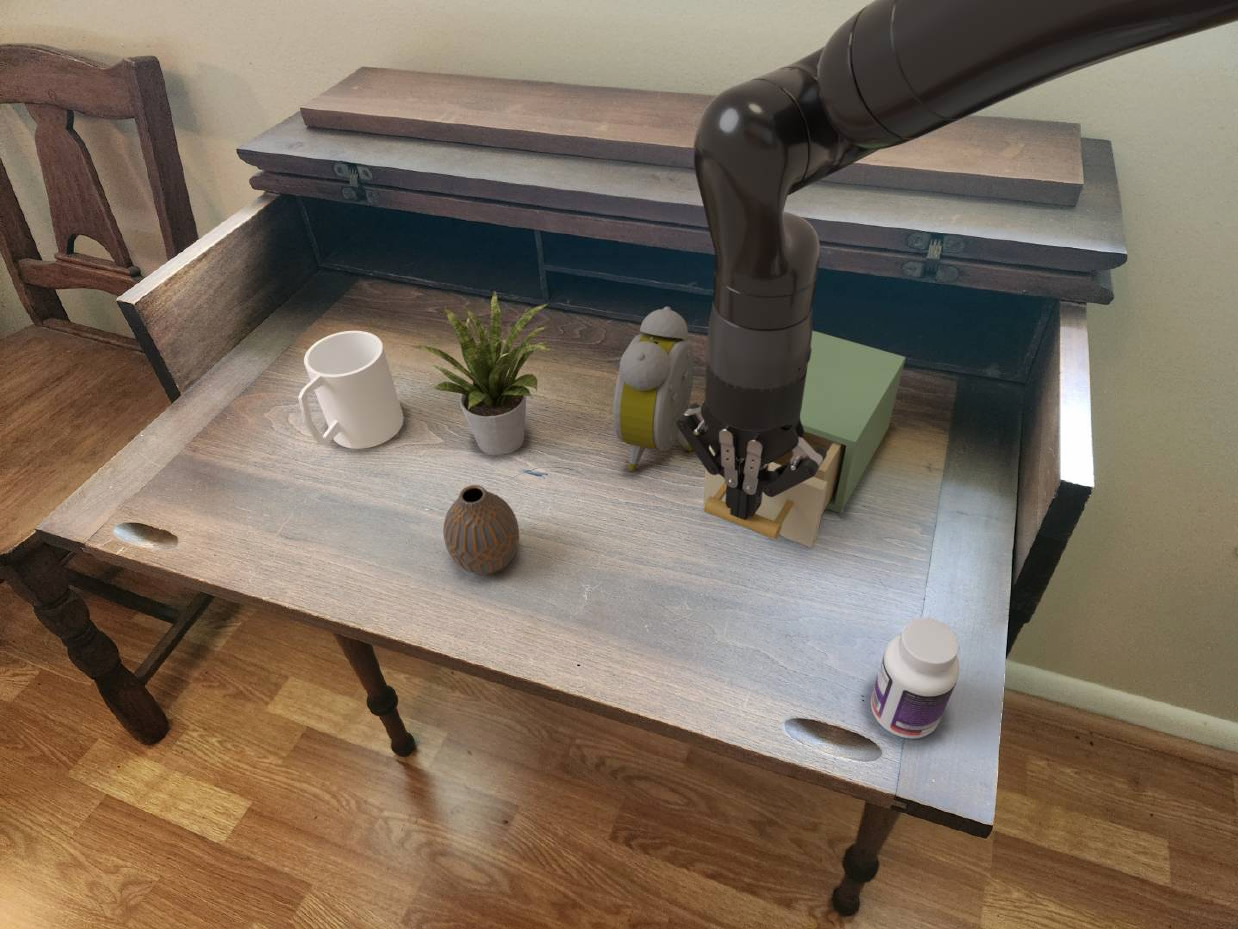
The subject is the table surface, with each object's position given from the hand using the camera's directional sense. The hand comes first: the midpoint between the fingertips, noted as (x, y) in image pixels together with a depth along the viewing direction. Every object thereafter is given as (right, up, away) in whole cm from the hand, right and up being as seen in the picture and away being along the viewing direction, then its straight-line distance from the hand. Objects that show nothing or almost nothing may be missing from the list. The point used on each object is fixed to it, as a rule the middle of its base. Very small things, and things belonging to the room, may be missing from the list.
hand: (742, 511), depth 74 cm
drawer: (+5, +1, +9) cm, 10 cm away
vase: (-24, -5, +6) cm, 25 cm away
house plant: (-23, +7, +18) cm, 30 cm away
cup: (-41, +7, +20) cm, 46 cm away
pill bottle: (+12, -16, -7) cm, 21 cm away
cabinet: (+9, +6, +15) cm, 19 cm away
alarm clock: (-6, +6, +17) cm, 19 cm away
